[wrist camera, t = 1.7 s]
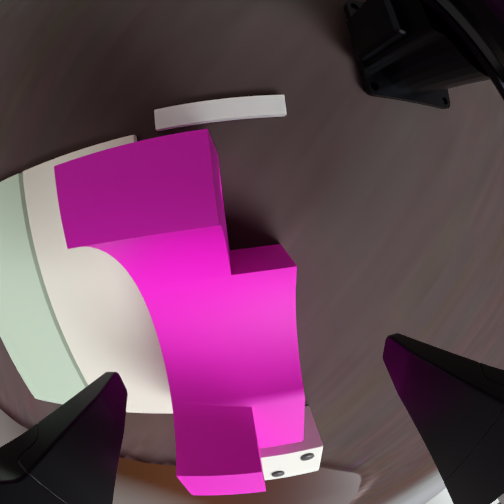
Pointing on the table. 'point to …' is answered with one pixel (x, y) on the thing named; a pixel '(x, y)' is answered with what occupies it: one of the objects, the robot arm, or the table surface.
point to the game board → (86, 282)
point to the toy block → (197, 301)
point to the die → (294, 453)
